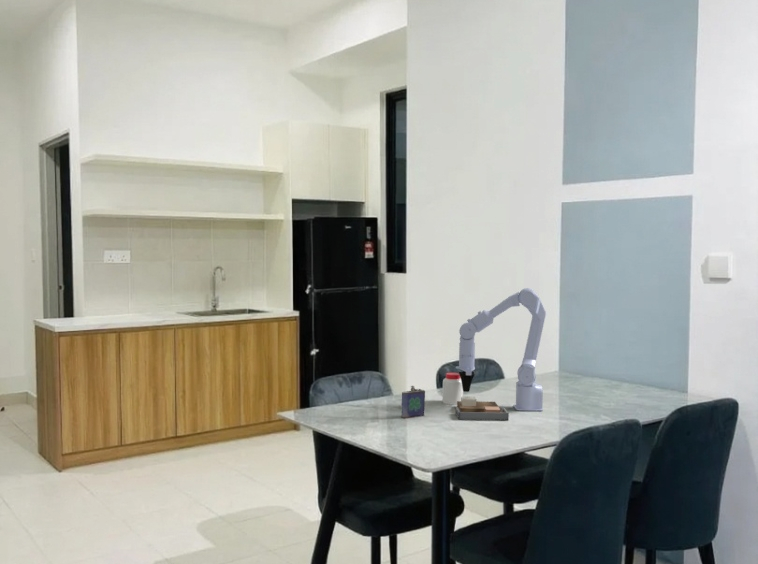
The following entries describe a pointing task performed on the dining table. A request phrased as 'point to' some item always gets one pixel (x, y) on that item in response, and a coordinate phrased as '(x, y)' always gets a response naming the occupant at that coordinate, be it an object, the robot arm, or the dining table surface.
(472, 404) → the tile cream
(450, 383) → the pill bottle
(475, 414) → the tray
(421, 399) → the flask
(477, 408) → the board
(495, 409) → the tile terracotta
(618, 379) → the dining table surface
